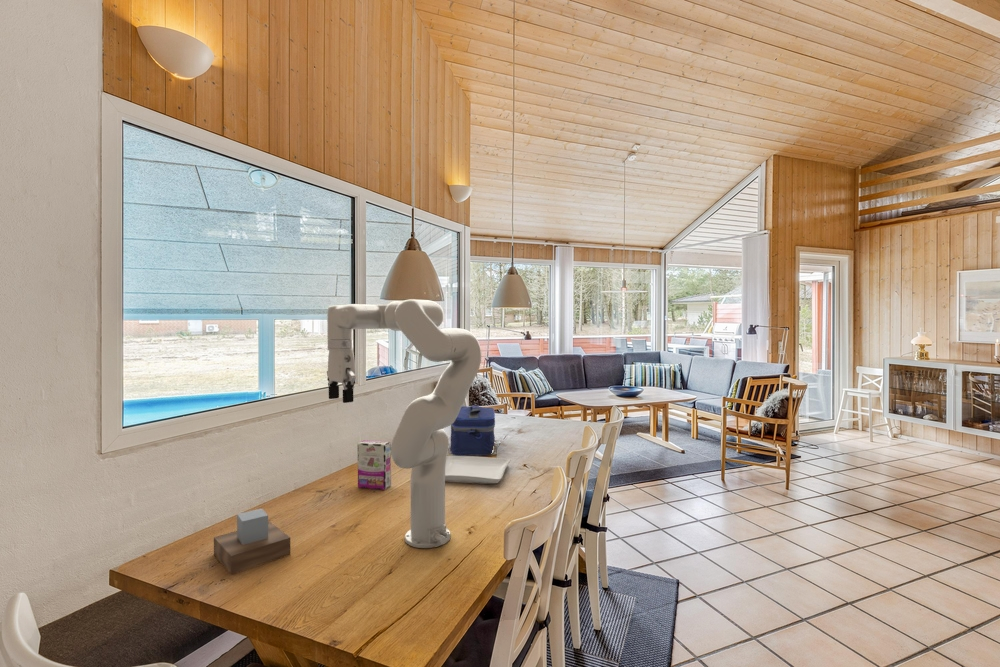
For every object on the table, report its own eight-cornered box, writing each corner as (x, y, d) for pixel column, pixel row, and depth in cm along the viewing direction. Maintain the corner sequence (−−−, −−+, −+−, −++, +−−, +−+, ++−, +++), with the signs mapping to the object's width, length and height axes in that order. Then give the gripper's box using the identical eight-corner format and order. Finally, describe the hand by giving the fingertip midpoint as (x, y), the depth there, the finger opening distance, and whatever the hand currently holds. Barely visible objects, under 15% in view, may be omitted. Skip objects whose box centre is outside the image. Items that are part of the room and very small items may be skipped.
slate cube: (268, 538, 126) (268, 515, 126) (242, 545, 122) (242, 521, 122) (262, 530, 130) (261, 508, 130) (237, 536, 127) (236, 514, 126)
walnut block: (290, 556, 127) (290, 537, 126) (231, 576, 117) (231, 555, 116) (270, 539, 136) (269, 521, 136) (213, 556, 126) (213, 537, 126)
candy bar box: (391, 485, 179) (391, 441, 178) (385, 490, 174) (385, 444, 174) (364, 483, 182) (363, 439, 181) (357, 487, 177) (356, 442, 176)
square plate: (501, 488, 178) (501, 478, 177) (428, 484, 182) (428, 474, 182) (511, 466, 204) (511, 457, 204) (447, 463, 209) (447, 454, 208)
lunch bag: (496, 457, 216) (496, 411, 215) (448, 458, 215) (448, 412, 214) (493, 440, 247) (493, 400, 246) (451, 440, 246) (451, 400, 245)
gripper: (365, 345, 147) (365, 402, 147) (339, 343, 159) (339, 395, 160) (341, 346, 142) (341, 405, 142) (316, 344, 154) (317, 398, 155)
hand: (340, 400), depth 151 cm, fingers open, 9 cm apart
